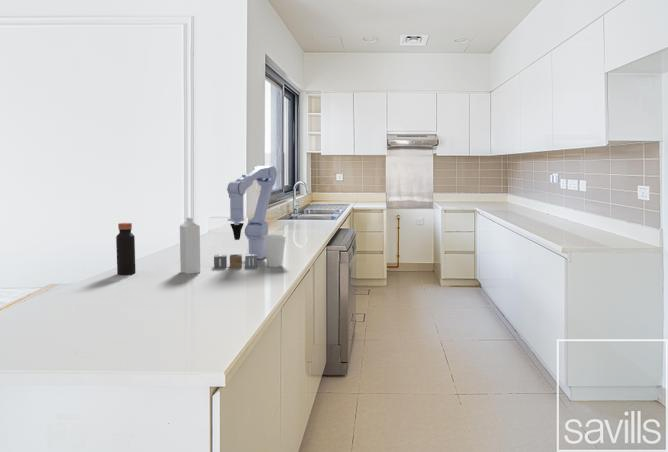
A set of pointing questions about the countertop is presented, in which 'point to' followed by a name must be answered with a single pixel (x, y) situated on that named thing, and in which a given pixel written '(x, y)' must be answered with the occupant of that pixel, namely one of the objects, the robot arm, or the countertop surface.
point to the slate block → (250, 260)
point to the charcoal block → (220, 261)
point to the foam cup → (274, 249)
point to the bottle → (125, 250)
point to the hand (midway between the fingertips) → (237, 239)
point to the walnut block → (236, 261)
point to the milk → (190, 247)
